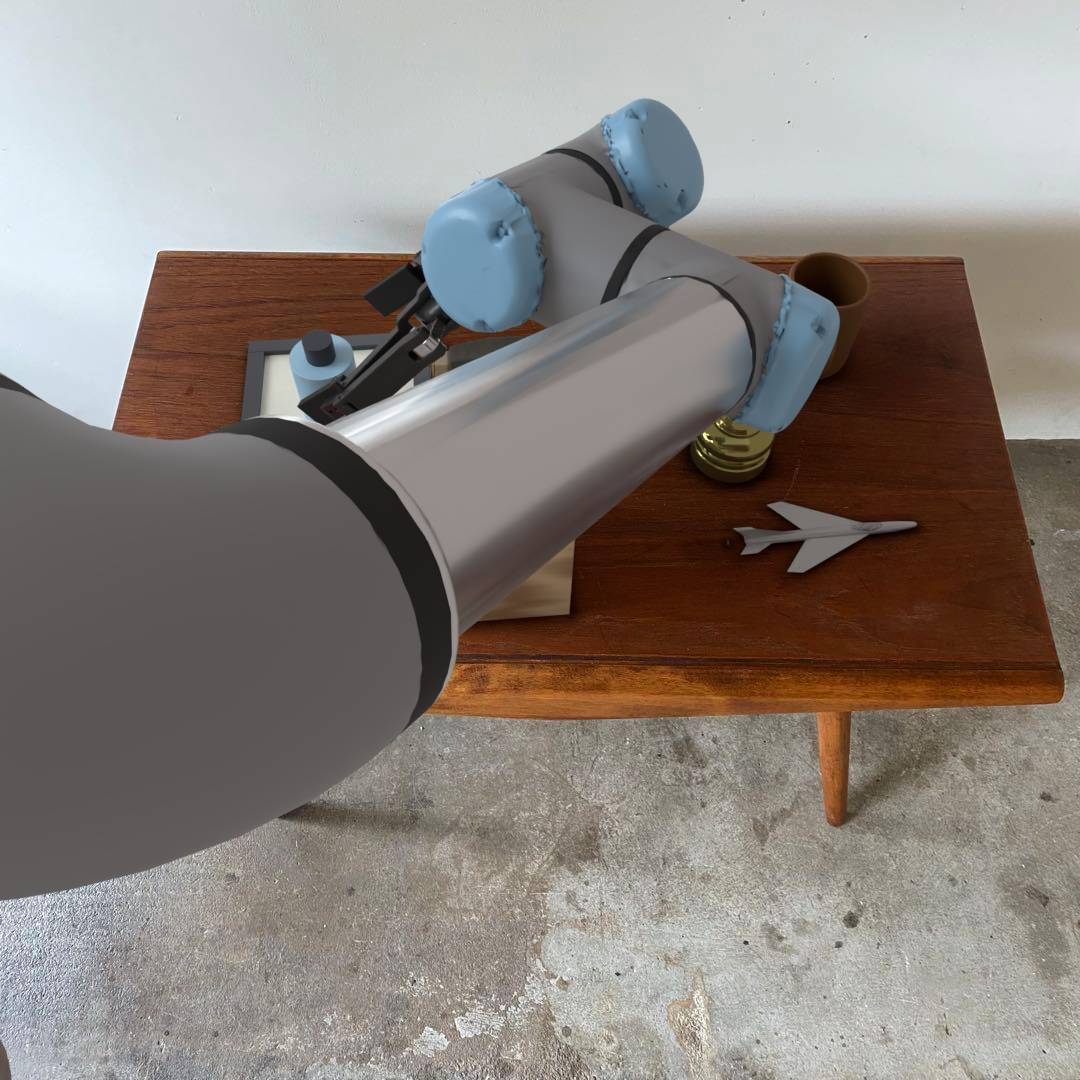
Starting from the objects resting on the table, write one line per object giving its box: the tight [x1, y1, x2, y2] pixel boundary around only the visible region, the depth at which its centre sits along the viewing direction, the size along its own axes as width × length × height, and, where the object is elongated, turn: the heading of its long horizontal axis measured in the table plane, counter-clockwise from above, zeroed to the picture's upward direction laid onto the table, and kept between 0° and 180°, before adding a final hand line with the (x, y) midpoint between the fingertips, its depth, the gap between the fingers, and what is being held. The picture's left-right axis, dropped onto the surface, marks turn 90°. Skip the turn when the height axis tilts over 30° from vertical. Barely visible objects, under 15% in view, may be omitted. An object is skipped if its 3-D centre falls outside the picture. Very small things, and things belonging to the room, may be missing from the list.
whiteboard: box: [240, 332, 432, 421], centre depth 93 cm, size 18×18×2 cm
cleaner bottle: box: [289, 329, 356, 423], centre depth 87 cm, size 6×6×11 cm
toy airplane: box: [726, 501, 918, 573], centre depth 86 cm, size 8×21×2 cm, turn 97°
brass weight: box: [689, 415, 777, 484], centre depth 88 cm, size 7×7×10 cm
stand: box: [477, 539, 576, 622], centre depth 78 cm, size 12×12×16 cm
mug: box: [787, 251, 874, 381], centre depth 94 cm, size 13×8×10 cm, turn 170°
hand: (344, 357), depth 83 cm, fingers open, 13 cm apart
